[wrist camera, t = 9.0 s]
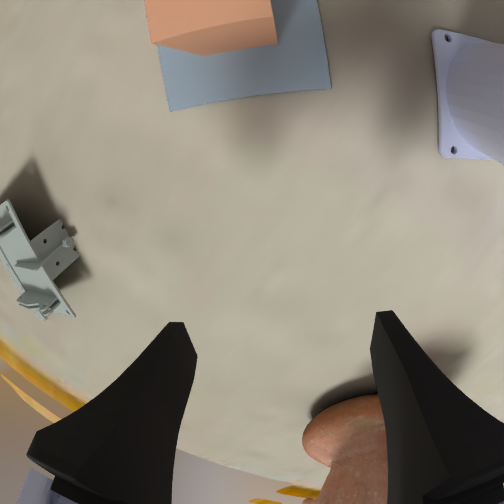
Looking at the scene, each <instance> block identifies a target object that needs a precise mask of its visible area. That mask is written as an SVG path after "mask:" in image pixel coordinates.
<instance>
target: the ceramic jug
mask: <svg viewBox="0 0 504 504" xmlns="http://www.w3.org/2000/svg"><path fill="white" fill-rule="evenodd" d="M302 443H303V447H304V450H305V451H306V453H307V454H308V455H309V456H310V457H311V458H313V459H315V460H316V461H318V462H321V463H323V464H325V465H327V466H328V467H330V468H331V470H330V472H329V474H328V476H327V478H326V480H325V482H324V485H323V487H322V489H321V491H320V494H319V496H318V498H317V499H315V500H314V499H310V498H307V499H305V500H304V501H303V503H302V504H387V494H388V458H387V441H386V430H385V423H384V418H383V413H382V409H381V404H380V400H379V395H378V394H372V395H365V396H360V397H355V398H352V399H348V400H345V401H342V402H340V403H337V404H335V405H333V406H331V407H329V408H327V409H325V410H324V411H322V412H321V413H319V414H318V415H317V416H316V417H314V418H313V419H312V420H311V421H310V422H309V424H308V425H307V426H306V428H305V430H304V433H303V437H302Z"/></svg>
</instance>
